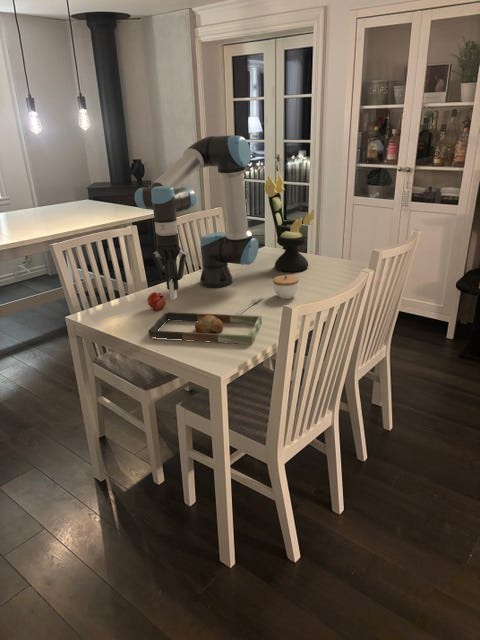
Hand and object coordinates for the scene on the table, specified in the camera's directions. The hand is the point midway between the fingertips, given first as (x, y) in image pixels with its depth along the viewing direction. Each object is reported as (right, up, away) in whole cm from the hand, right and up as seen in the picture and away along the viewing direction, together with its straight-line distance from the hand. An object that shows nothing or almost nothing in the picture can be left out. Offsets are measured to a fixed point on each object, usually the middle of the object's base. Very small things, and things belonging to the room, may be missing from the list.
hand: (173, 297), depth 173 cm
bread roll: (+12, -12, +3) cm, 18 cm away
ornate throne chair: (+48, +18, +68) cm, 85 cm away
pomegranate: (-10, -4, +26) cm, 28 cm away
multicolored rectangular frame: (+12, -12, +3) cm, 17 cm away
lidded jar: (+43, +2, +31) cm, 54 cm away
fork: (+28, -3, +23) cm, 36 cm away
